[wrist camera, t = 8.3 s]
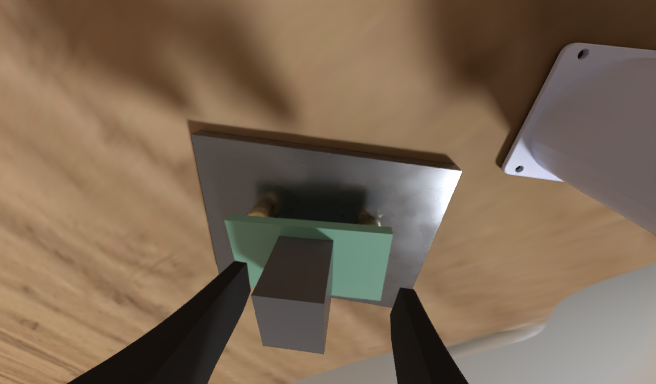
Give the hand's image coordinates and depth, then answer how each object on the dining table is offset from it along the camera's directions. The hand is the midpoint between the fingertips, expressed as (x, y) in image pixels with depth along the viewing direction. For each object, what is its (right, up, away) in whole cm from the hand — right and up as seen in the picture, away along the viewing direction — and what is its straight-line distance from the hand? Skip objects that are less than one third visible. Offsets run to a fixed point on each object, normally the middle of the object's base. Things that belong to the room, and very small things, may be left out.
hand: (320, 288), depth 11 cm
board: (-1, 0, +8) cm, 8 cm away
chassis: (-1, +1, +11) cm, 11 cm away
